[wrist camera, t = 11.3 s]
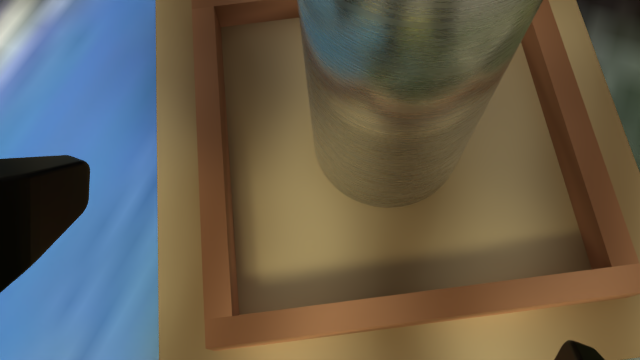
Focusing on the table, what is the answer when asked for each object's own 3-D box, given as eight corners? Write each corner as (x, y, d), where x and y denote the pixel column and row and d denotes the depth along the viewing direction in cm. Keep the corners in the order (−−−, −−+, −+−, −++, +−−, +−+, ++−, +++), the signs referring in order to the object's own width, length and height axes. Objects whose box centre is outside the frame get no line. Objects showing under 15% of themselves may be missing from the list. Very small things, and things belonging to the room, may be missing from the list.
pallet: (174, 416, 17) (145, 422, 14) (167, 8, 22) (145, -39, 20) (674, 351, 17) (732, 345, 14) (538, -38, 23) (563, -91, 20)
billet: (393, 238, 17) (522, -121, 5) (284, 141, 18) (171, -326, 6) (489, 135, 18) (789, -364, 6) (380, 52, 20) (443, -491, 7)
